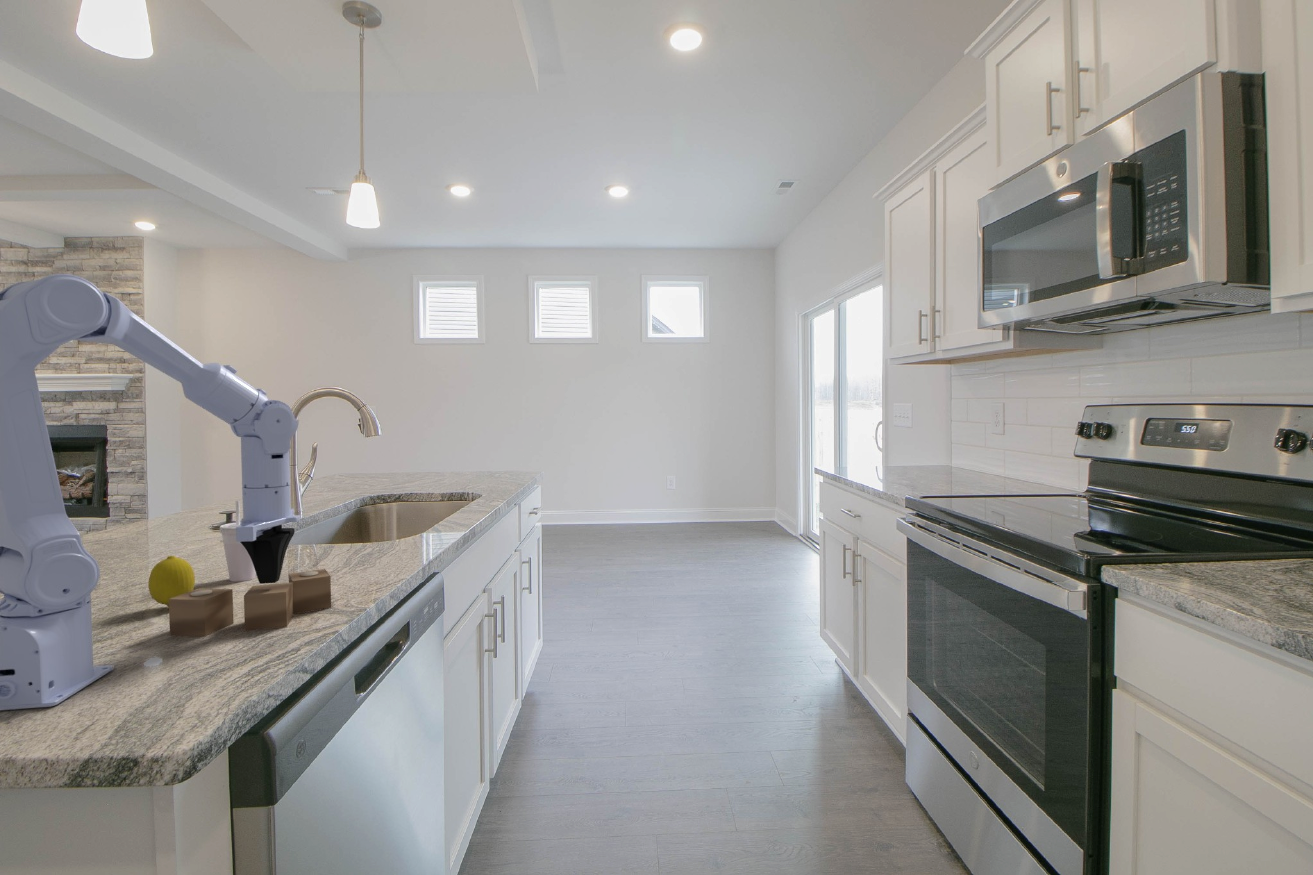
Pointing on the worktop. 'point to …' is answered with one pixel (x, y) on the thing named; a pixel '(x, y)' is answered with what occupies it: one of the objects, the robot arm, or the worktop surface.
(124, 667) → the worktop surface
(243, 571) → the smoothie
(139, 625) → the worktop surface
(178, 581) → the lemon
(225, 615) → the dotted block
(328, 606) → the dotted block
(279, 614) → the plain block
